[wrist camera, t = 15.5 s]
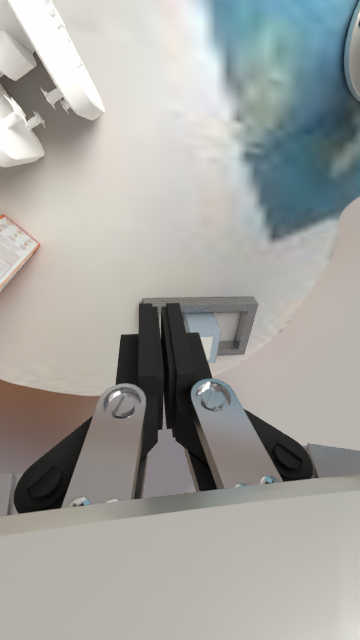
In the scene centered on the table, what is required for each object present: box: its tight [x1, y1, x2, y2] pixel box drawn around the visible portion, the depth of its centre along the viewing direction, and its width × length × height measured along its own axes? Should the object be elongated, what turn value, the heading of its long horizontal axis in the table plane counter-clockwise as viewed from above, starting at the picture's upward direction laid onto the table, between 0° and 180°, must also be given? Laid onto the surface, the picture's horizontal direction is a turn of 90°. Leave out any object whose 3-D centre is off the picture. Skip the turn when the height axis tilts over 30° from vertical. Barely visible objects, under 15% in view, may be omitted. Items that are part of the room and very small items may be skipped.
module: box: [184, 312, 221, 363], centre depth 45 cm, size 5×7×7 cm
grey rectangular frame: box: [143, 297, 258, 356], centre depth 47 cm, size 20×12×2 cm, turn 86°
